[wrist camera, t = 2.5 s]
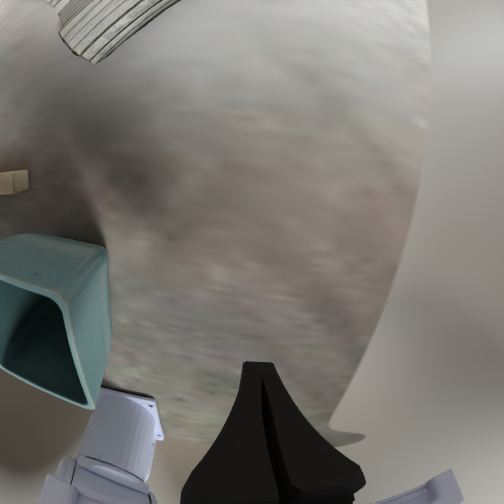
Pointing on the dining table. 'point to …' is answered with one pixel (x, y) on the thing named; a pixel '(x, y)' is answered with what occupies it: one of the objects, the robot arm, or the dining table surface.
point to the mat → (104, 23)
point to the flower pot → (55, 315)
